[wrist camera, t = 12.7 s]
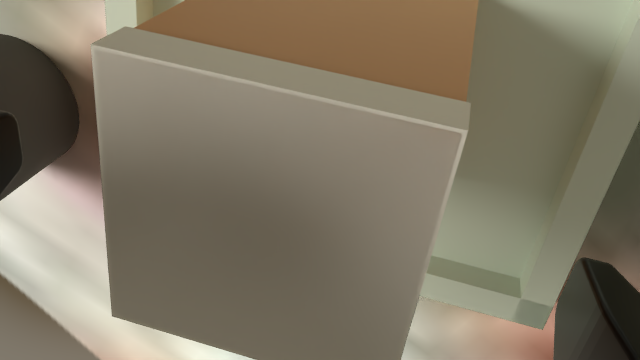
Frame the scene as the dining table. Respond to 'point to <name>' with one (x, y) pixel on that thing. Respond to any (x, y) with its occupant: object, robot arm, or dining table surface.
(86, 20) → the dining table surface
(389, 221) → the square block
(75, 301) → the dining table surface
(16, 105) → the dark rounded cylinder
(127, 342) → the dining table surface
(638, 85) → the tray
